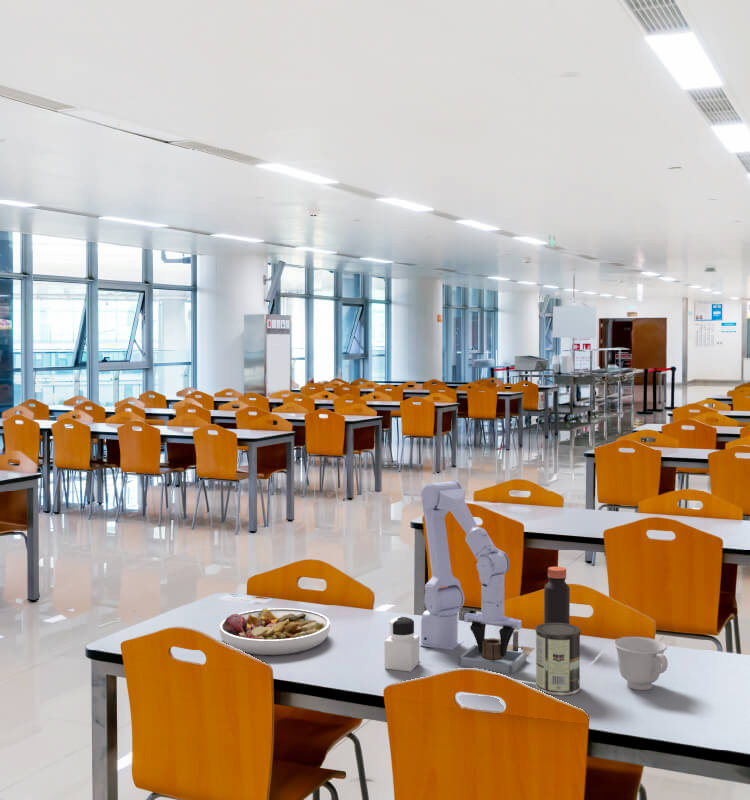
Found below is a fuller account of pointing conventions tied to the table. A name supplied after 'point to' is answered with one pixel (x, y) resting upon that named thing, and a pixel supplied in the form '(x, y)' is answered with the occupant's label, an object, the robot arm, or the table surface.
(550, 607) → the vinegar
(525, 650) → the post stand
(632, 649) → the teacup
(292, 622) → the bowl
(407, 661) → the medicine bottle
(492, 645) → the collar
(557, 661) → the coffee can
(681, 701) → the table surface
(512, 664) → the tray
